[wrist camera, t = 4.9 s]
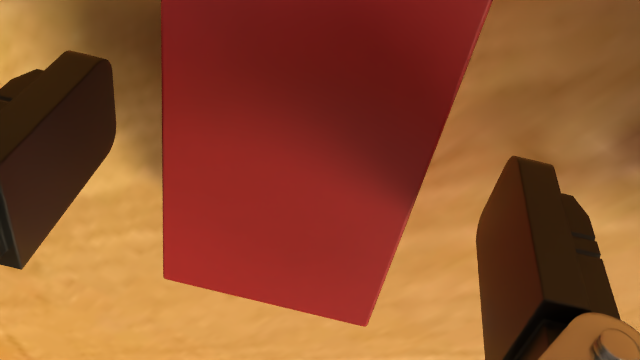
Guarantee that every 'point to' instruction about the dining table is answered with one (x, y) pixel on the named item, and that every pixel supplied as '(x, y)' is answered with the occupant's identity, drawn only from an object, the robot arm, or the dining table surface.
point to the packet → (302, 140)
